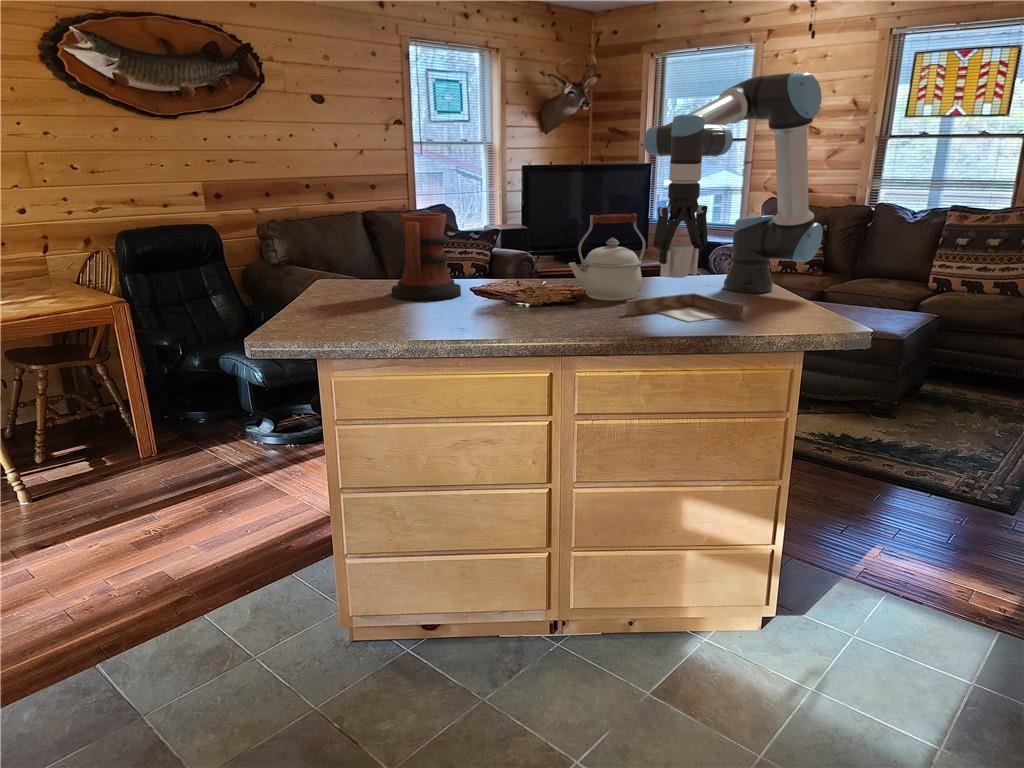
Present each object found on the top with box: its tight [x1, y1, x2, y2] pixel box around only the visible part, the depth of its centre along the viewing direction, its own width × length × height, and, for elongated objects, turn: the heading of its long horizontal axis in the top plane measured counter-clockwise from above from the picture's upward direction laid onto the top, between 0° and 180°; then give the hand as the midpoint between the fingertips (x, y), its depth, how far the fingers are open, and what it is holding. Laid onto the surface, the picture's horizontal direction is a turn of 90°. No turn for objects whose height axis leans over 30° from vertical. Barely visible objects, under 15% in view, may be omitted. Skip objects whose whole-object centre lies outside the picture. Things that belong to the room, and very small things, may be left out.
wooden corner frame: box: [625, 292, 745, 323], centre depth 197 cm, size 23×20×4 cm
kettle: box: [568, 212, 647, 302], centre depth 222 cm, size 25×18×25 cm
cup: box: [668, 242, 694, 279], centre depth 184 cm, size 11×8×8 cm
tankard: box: [391, 212, 462, 303], centre depth 224 cm, size 22×25×25 cm
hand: (678, 275), depth 186 cm, fingers closed on cup, 8 cm apart
